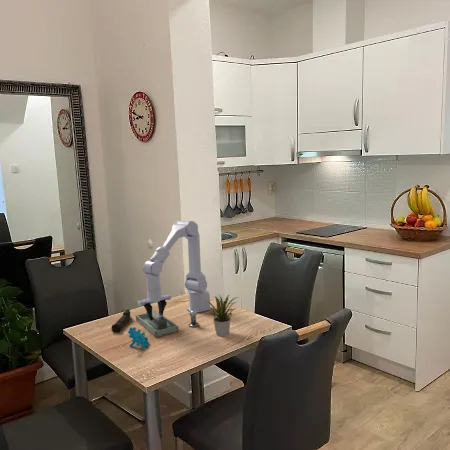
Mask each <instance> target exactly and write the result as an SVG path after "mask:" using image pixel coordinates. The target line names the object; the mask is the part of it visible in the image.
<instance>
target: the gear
mask: <svg viewBox="0 0 450 450" xmlns="http://www.w3.org/2000/svg"><path fill="white" fill-rule="evenodd" d="M127 333H128V338H130V339H131V341H132V342H131V343H130V344H129V347H130V348H132V347H133V346H134V345H135V344H136V347H138V348H139V347H140V348H141V349H144V348H148V347H149V345H150V342H149V337H148V336H147V337H146V331H142V330H141V329H139V328H138V329H137V327H135V326H134V327H129V328H128V331H127Z"/></svg>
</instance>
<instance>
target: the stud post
mask: <svg viewBox="0 0 450 450" xmlns="http://www.w3.org/2000/svg"><path fill="white" fill-rule="evenodd" d="M197 314H198V313H196V311H194V310H193V311H189V316H190V323H188V327H189V328H198V327H200V324H199V322H197Z"/></svg>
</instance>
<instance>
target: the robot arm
mask: <svg viewBox="0 0 450 450" xmlns="http://www.w3.org/2000/svg"><path fill="white" fill-rule="evenodd" d="M180 238H185V239H187V249H188V250H187V251H188V252H187V254H188V273H187V274H186V275H185V281H184V286H185V289H186V290H187V292H188V298H189V303H188V304H189V307H187V308H186V310H188V311H189V312H191V311H193V310H194V311H196V313H197V314H198V313H201V312H207V311H209V310H210V309H212V308H211V304H210V303H211V296H210V292H209V290H207V288H208V282H207V279H206V275H205V274H204V273H203V272H202V271H201V270H202V269H201V266H202V265H201V242H200V240H201V239H200V233H199V224H197V223H196V222H195V221H193V220H182V219H177V220H176V221H175V222H174V223H173V225H172V226H171V231H170V232H169V235H168V236H167V238H166V240H165V241H164V243H163V245H162V246H158V247H157V248H156V249H155V251H154V253H153V254H152V255H151V257H149V258H150V259H149V260H147V261H145V263H143V267H142V272H143V274H145V275H144V276H145V277H146V280H145V282H146V290H147V291H146V293H147V294H146V295H147V297H146V298H143V299H140V300H137V305H138V306H139V307H142V306H143V307H144V309H145V311H146V312H147V313H148V316H149V319H150V320H152V319H153V317H152V311H153V306H152V304H154V303H157V307H158V312H159V314H161V315H162V316H164V312H165V308H166V306H167V301H171V300H172V297H171V294H162V293H161V291H162V289H161V279H160V278H161V276H160V274H161V273H162V271H163V266H164V263H165V262H166V260H167V259H168V257H169V256H170V250H171V249H172V247H174V245H175V244H176V243H177V241H178V240H179V239H180ZM207 301H208V302H210V303H208V302H207ZM209 308H210V309H209ZM210 311H211V310H210Z"/></svg>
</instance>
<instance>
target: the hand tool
mask: <svg viewBox="0 0 450 450" xmlns="http://www.w3.org/2000/svg"><path fill="white" fill-rule="evenodd" d="M129 320H131V309H126V310H124V311H123V313H122V315H121V317H119V319H118V320H117V321H116V322H115V323H114V324H112V325H111V332H112V333H113V332H114V334H115V333H116V334H117V333H120V332H121V331H122V329H123V328H124V326H125V325H126V324H127V323H128V322H130V321H129Z"/></svg>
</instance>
